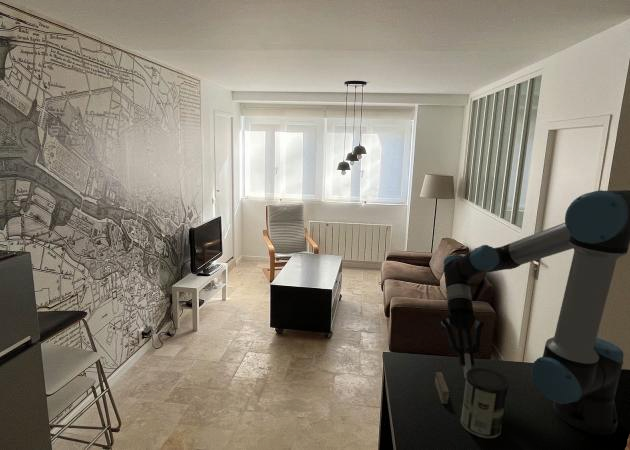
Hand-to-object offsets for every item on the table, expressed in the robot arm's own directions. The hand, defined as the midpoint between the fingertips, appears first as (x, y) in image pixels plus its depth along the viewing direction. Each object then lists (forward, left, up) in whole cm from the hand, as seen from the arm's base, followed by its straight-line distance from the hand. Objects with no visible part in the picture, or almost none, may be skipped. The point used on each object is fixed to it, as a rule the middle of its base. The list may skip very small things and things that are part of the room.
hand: (468, 377), depth 117 cm
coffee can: (-1, +10, -8) cm, 13 cm away
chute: (0, -3, -8) cm, 9 cm away
